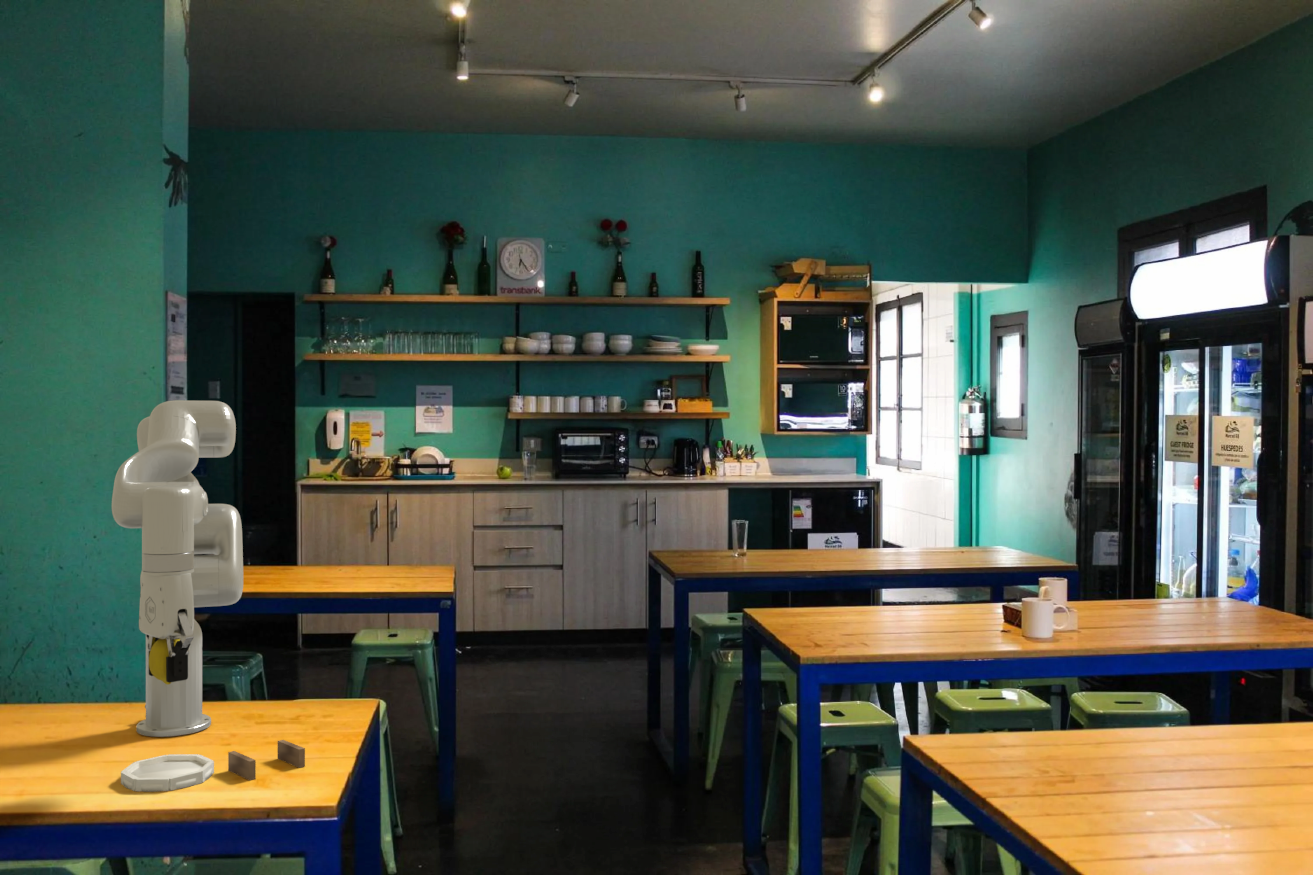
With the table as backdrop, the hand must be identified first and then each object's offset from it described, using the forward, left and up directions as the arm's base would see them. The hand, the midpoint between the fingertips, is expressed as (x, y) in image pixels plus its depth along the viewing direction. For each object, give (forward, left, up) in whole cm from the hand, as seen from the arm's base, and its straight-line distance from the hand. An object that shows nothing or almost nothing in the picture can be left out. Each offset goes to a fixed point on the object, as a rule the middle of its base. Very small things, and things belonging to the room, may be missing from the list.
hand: (168, 676), depth 174 cm
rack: (+7, +13, -16) cm, 22 cm away
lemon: (0, 0, -1) cm, 1 cm away
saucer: (0, 0, -16) cm, 16 cm away
